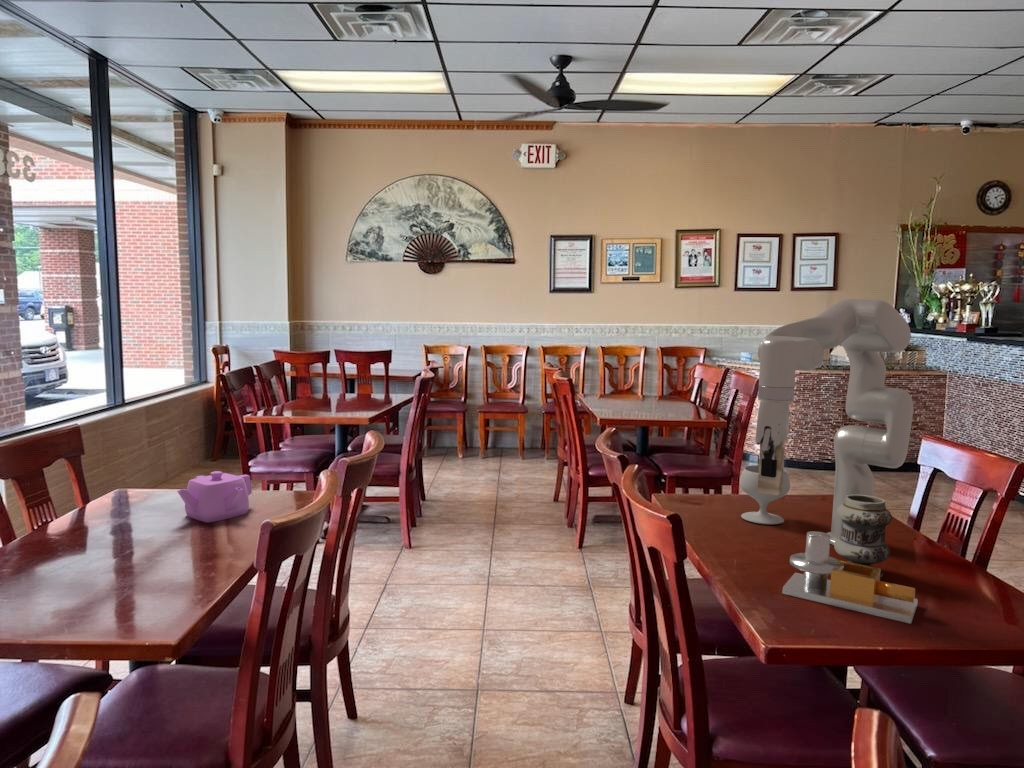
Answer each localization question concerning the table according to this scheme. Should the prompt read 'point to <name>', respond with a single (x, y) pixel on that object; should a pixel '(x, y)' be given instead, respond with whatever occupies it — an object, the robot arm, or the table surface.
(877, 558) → the apothecary jar
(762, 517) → the chalice
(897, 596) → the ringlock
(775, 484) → the cream rectangular block
